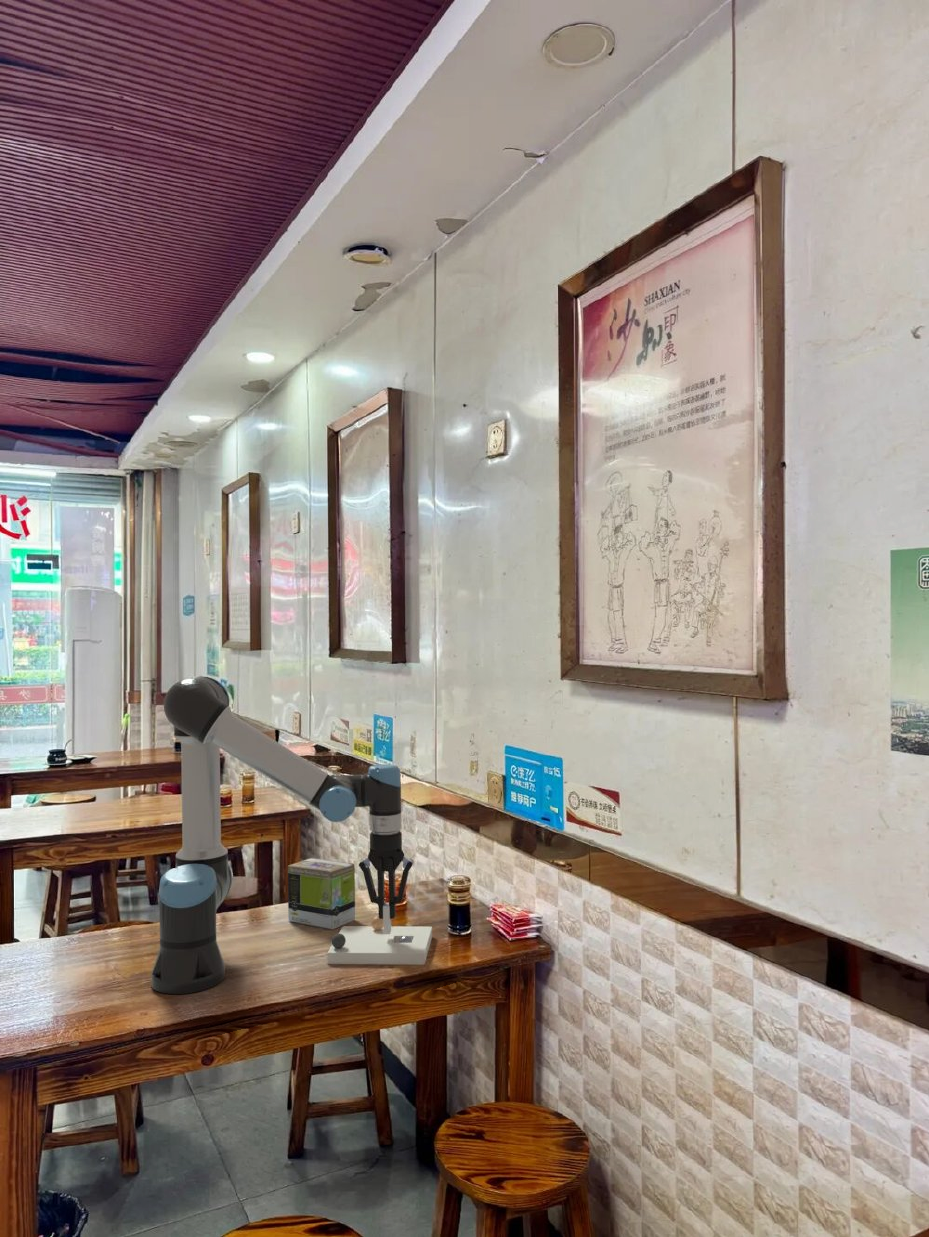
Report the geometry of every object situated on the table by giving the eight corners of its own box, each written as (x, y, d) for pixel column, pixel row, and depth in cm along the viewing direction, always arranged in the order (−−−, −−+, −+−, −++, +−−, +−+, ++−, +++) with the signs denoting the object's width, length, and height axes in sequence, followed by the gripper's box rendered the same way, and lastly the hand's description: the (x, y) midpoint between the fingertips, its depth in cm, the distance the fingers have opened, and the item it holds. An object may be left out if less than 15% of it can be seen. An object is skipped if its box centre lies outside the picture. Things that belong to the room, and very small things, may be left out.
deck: (327, 963, 194) (327, 952, 194) (343, 936, 212) (343, 926, 212) (424, 964, 193) (424, 953, 193) (432, 936, 211) (432, 926, 211)
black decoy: (330, 950, 195) (330, 936, 195) (333, 945, 198) (333, 931, 199) (344, 950, 195) (344, 936, 195) (346, 945, 198) (346, 931, 198)
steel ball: (398, 938, 201) (411, 938, 200) (400, 933, 204) (413, 933, 204) (398, 951, 200) (411, 952, 200) (399, 947, 204) (413, 947, 203)
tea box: (356, 919, 225) (356, 862, 225) (331, 931, 216) (331, 871, 216) (312, 911, 232) (311, 855, 233) (286, 921, 224) (286, 864, 224)
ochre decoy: (370, 931, 207) (369, 918, 207) (372, 927, 211) (372, 914, 211) (383, 931, 207) (383, 918, 207) (385, 927, 210) (385, 914, 210)
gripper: (355, 835, 199) (357, 937, 199) (411, 834, 199) (413, 937, 198) (361, 827, 207) (362, 926, 206) (415, 827, 206) (416, 926, 206)
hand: (387, 932), depth 202 cm, fingers closed
